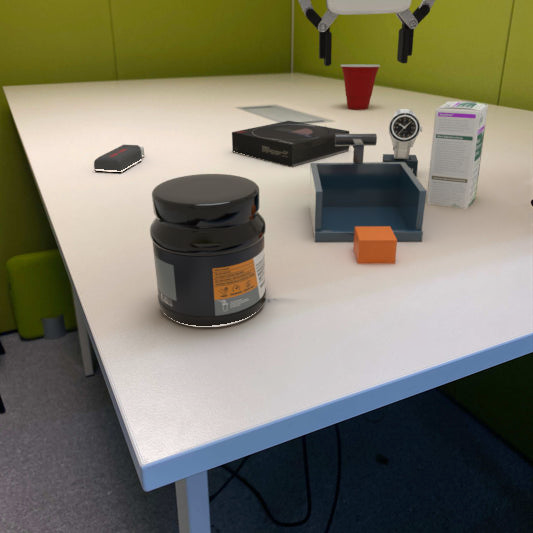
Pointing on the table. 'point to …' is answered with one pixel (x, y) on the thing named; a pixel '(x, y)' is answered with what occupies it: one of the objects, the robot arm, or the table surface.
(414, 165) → the watch
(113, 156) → the usb drive
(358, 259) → the block
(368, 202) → the blue open box
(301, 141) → the black flat cardboard box
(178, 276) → the supplement container
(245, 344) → the table surface
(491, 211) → the table surface
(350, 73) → the plastic cup
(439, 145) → the syrup box
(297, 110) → the table surface
